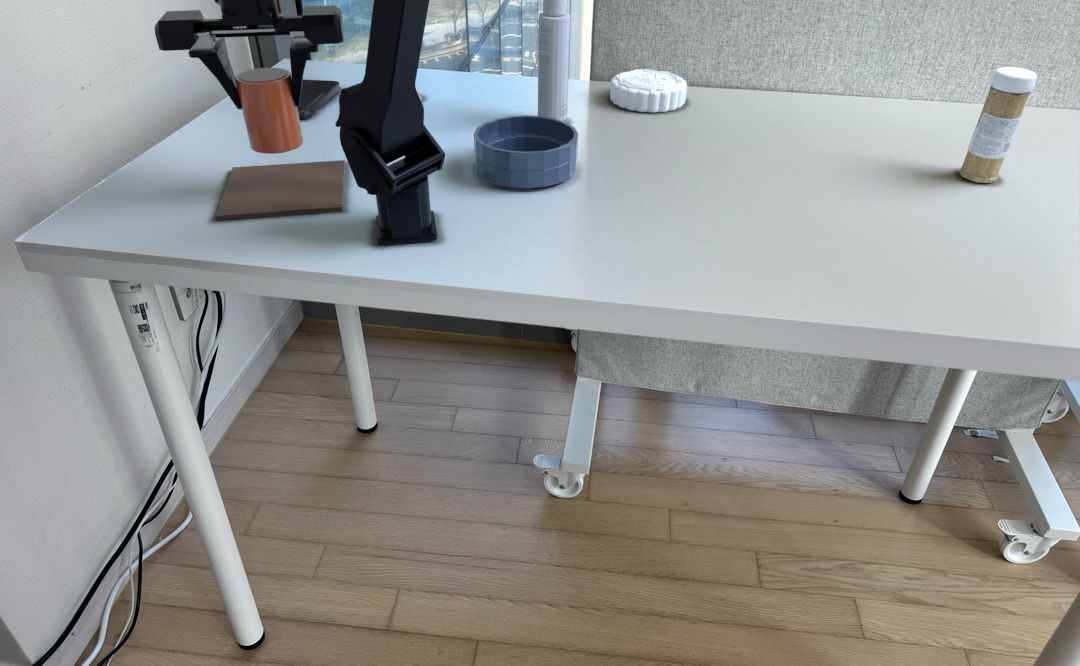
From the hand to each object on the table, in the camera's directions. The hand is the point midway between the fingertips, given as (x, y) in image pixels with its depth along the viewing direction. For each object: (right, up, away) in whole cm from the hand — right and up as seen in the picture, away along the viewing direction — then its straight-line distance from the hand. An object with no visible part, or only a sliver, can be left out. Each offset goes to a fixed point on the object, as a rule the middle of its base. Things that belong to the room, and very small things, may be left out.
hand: (269, 106), depth 86 cm
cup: (0, -4, +3) cm, 5 cm away
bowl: (+29, -5, +12) cm, 32 cm away
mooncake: (+48, +11, +35) cm, 60 cm away
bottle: (+33, +6, +26) cm, 42 cm away
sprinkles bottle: (+87, -6, +11) cm, 88 cm away
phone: (-6, +10, +32) cm, 35 cm away
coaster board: (0, -8, +6) cm, 10 cm away
